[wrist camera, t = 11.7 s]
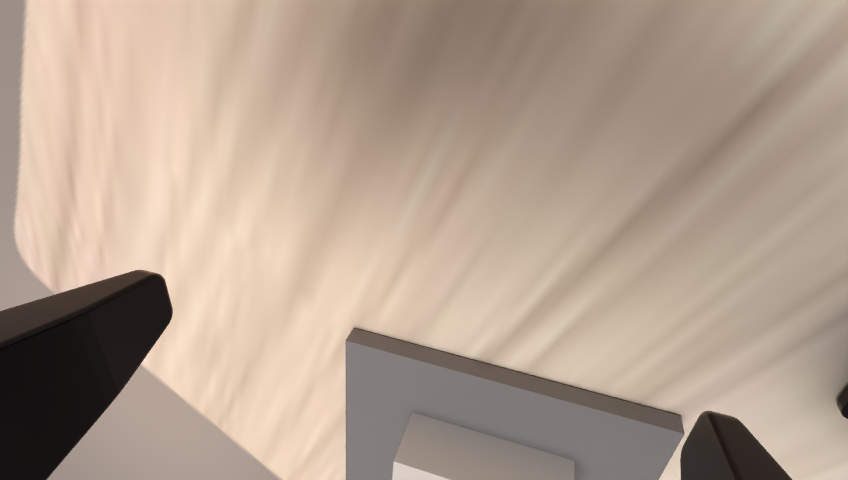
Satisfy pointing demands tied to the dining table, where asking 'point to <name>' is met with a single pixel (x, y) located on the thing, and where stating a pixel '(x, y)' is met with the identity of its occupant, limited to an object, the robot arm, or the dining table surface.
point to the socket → (488, 421)
